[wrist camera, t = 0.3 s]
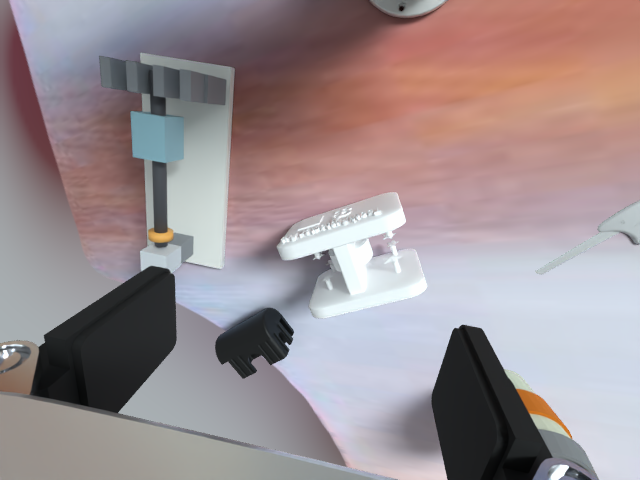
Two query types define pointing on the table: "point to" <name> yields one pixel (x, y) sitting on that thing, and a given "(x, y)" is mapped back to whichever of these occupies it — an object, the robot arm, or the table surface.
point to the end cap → (255, 341)
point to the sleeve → (157, 136)
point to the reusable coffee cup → (550, 426)
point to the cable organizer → (356, 257)
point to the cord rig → (199, 156)
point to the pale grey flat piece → (605, 234)
